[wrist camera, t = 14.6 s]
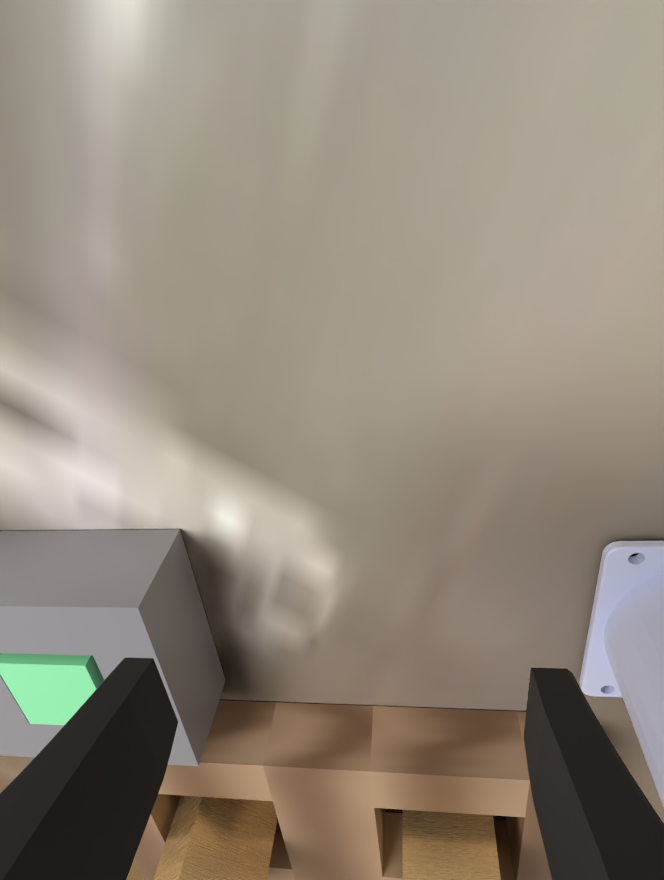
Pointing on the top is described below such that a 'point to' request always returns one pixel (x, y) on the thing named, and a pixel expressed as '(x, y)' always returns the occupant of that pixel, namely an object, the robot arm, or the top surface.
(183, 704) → the button housing
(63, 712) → the button
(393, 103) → the top surface
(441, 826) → the block
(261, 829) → the block
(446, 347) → the top surface
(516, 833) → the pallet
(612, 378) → the top surface
